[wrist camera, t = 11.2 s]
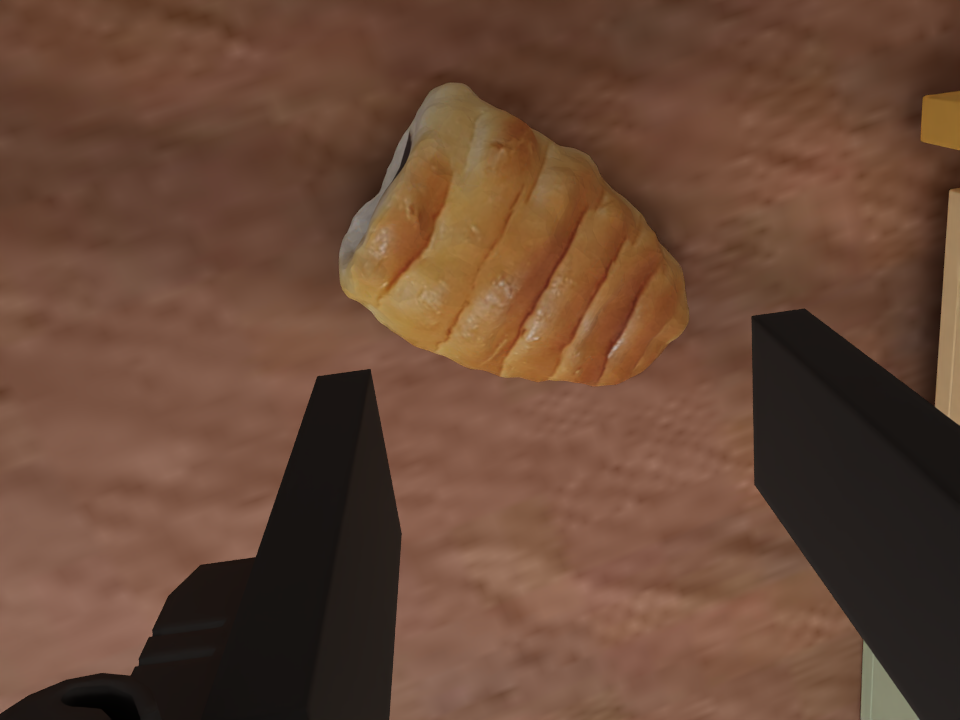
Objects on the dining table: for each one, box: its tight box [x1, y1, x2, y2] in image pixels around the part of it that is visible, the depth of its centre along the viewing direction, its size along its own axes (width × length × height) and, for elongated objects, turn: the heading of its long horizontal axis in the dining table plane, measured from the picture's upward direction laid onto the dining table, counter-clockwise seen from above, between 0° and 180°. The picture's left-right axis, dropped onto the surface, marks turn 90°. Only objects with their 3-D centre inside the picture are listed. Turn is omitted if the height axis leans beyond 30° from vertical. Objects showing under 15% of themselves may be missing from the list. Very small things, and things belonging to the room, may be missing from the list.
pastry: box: [339, 82, 689, 386], centre depth 23 cm, size 9×7×4 cm
